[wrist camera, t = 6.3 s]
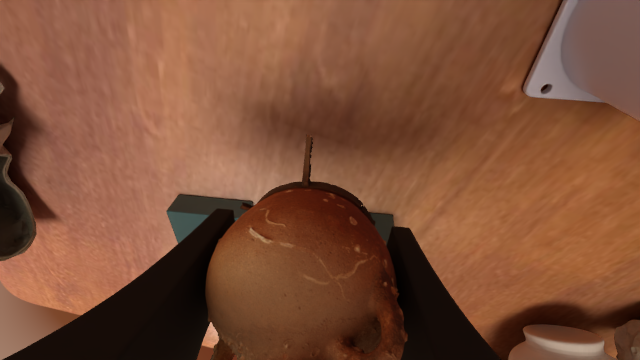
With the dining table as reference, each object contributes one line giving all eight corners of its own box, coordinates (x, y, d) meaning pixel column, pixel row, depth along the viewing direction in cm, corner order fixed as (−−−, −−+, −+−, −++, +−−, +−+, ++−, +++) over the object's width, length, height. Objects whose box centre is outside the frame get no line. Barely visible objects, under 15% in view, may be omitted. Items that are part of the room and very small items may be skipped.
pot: (408, 159, 12) (252, 112, 11) (506, 392, 6) (164, 351, 4) (352, 245, 16) (229, 219, 14) (375, 448, 9) (161, 435, 8)
